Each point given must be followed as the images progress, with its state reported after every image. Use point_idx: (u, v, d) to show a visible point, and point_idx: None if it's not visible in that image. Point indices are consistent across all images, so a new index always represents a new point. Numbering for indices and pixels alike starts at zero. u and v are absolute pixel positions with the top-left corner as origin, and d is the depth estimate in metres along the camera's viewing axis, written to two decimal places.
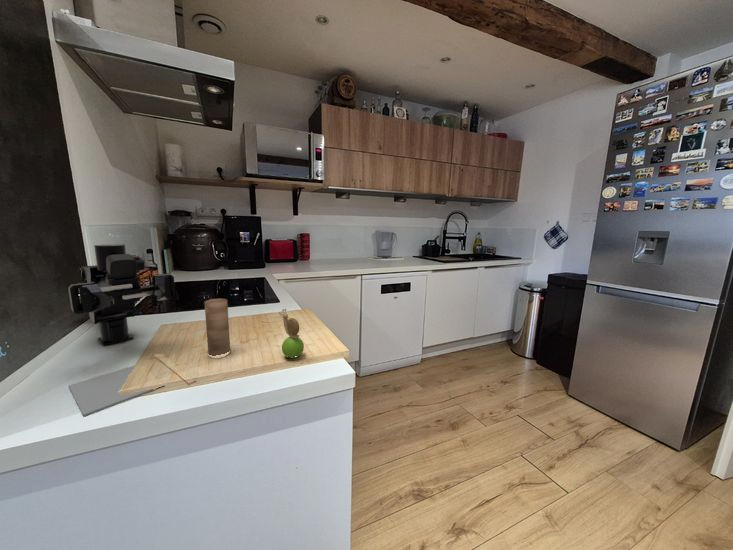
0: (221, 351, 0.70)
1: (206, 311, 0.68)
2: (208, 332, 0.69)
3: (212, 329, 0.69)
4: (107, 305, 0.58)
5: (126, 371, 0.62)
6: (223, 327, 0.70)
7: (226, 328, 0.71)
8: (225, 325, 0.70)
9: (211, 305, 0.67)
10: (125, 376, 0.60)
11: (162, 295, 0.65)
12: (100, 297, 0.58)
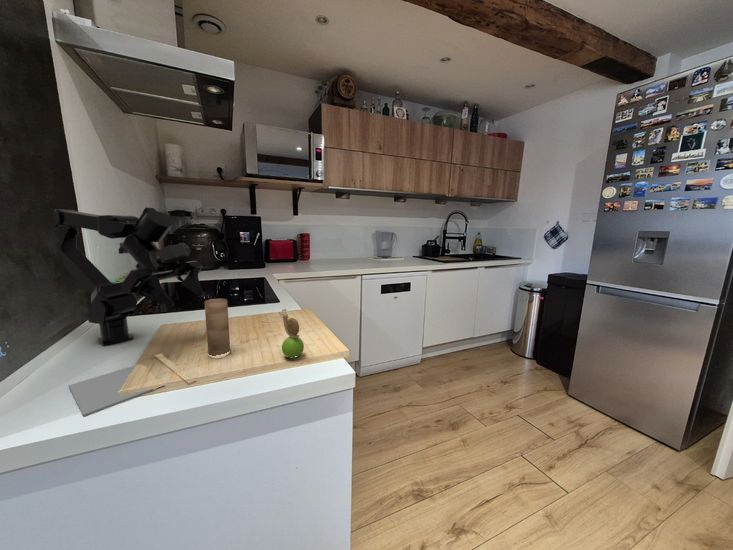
0: (221, 351, 0.70)
1: (206, 311, 0.68)
2: (208, 332, 0.69)
3: (212, 329, 0.69)
4: (165, 303, 0.67)
5: (126, 371, 0.62)
6: (223, 327, 0.70)
7: (226, 328, 0.71)
8: (225, 325, 0.70)
9: (211, 305, 0.67)
10: (125, 376, 0.60)
11: (199, 294, 0.76)
12: (161, 294, 0.66)
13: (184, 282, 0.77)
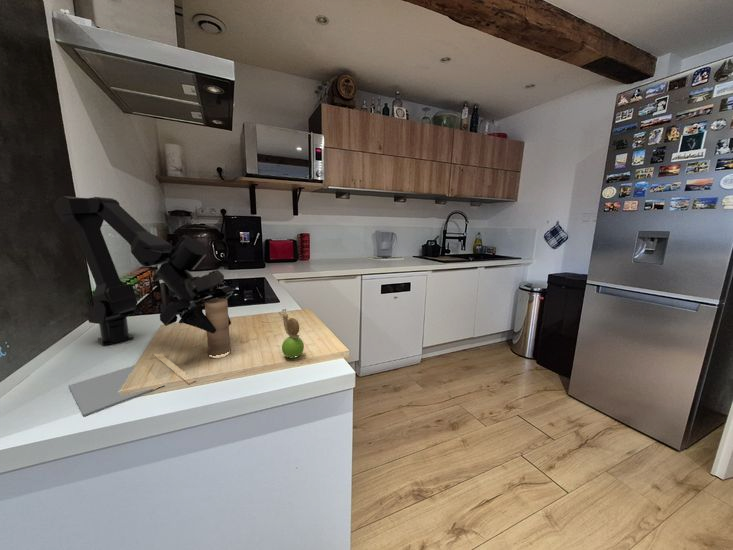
0: (221, 351, 0.70)
1: (206, 311, 0.68)
2: (208, 332, 0.69)
3: None
4: (208, 331, 0.68)
5: (126, 371, 0.62)
6: (223, 327, 0.70)
7: (226, 328, 0.71)
8: (225, 325, 0.70)
9: (211, 305, 0.67)
10: (125, 376, 0.60)
11: None
12: (205, 322, 0.67)
13: None
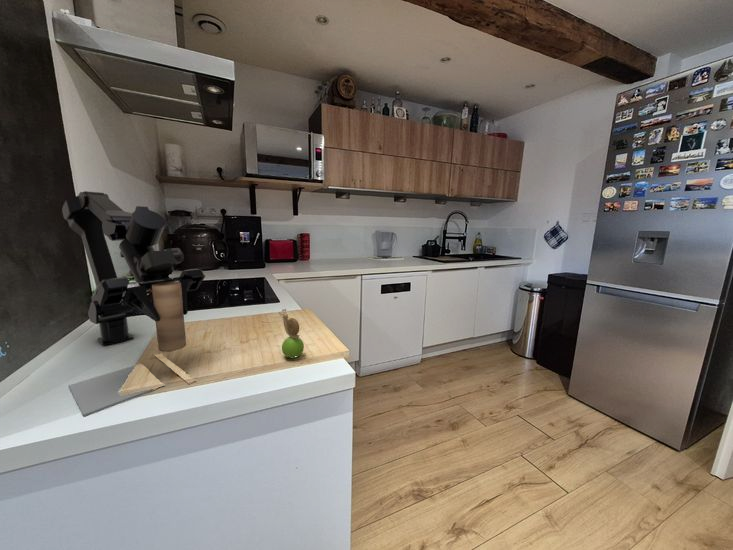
0: (168, 344, 0.59)
1: None
2: None
3: None
4: (152, 318, 0.57)
5: (126, 371, 0.62)
6: (170, 315, 0.58)
7: (175, 317, 0.59)
8: (173, 313, 0.59)
9: (155, 288, 0.57)
10: (125, 376, 0.60)
11: (183, 312, 0.62)
12: (147, 307, 0.57)
13: None
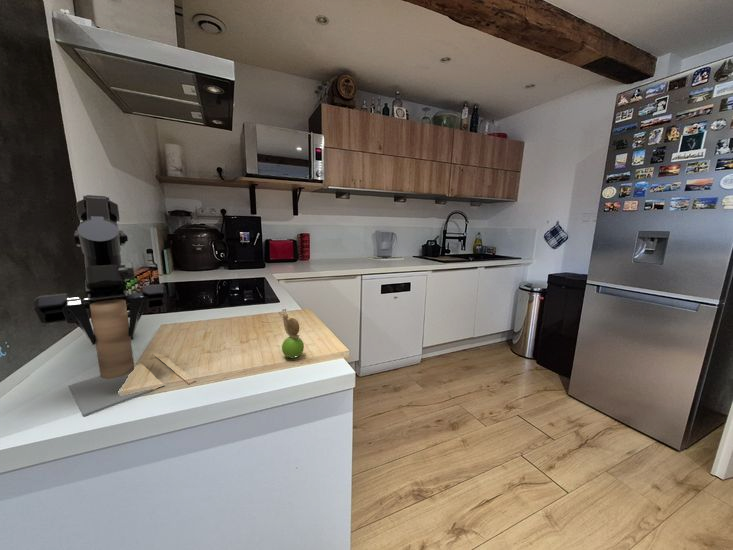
0: (106, 370, 0.53)
1: None
2: None
3: (95, 339, 0.52)
4: None
5: None
6: (106, 339, 0.52)
7: (112, 341, 0.52)
8: (110, 336, 0.52)
9: (90, 307, 0.51)
10: (125, 376, 0.60)
11: (130, 334, 0.55)
12: (83, 328, 0.51)
13: None
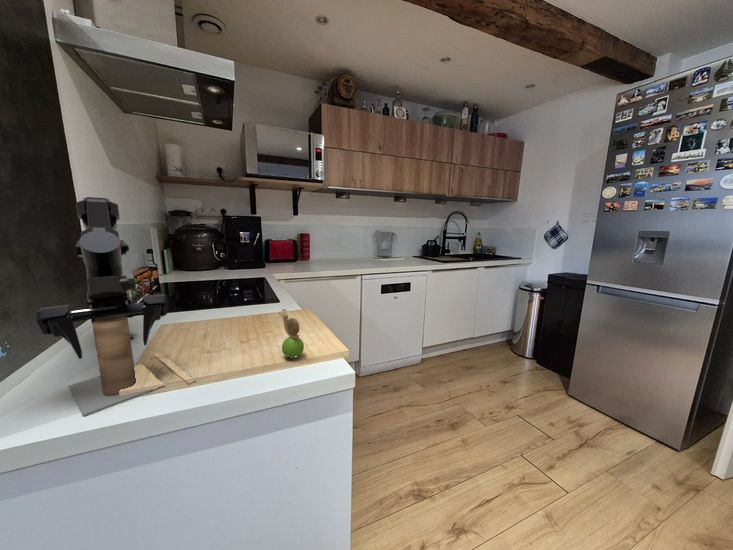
0: (108, 387, 0.53)
1: None
2: None
3: (97, 356, 0.53)
4: (76, 354, 0.51)
5: None
6: (109, 356, 0.52)
7: (115, 358, 0.53)
8: (112, 353, 0.53)
9: (93, 325, 0.52)
10: None
11: None
12: (70, 342, 0.50)
13: None
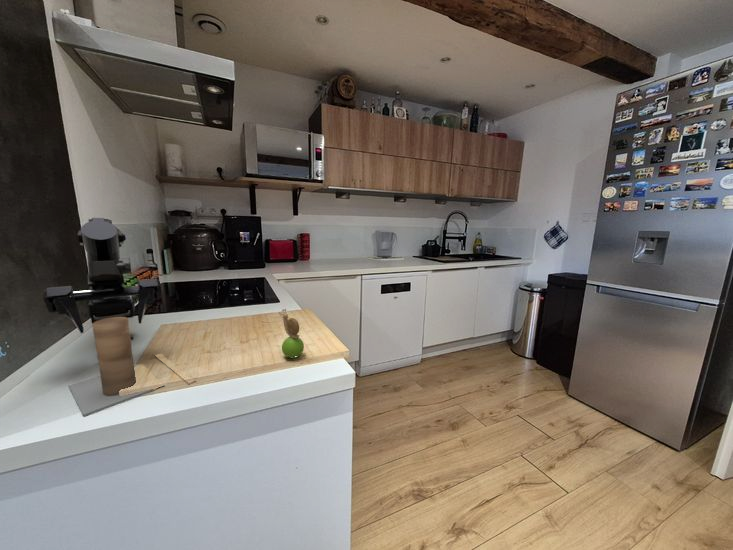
0: (108, 387, 0.53)
1: None
2: None
3: None
4: (78, 329, 0.57)
5: None
6: (109, 357, 0.52)
7: (115, 359, 0.53)
8: (113, 354, 0.52)
9: (93, 326, 0.51)
10: None
11: (138, 320, 0.63)
12: (72, 318, 0.57)
13: None
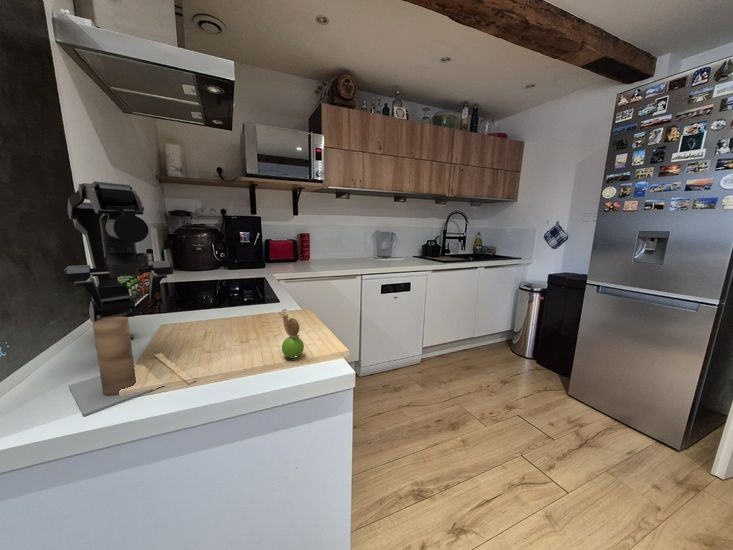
0: (108, 387, 0.53)
1: None
2: None
3: None
4: None
5: None
6: (109, 356, 0.52)
7: (115, 359, 0.53)
8: (112, 354, 0.53)
9: (93, 326, 0.52)
10: None
11: (150, 300, 0.70)
12: (92, 298, 0.62)
13: (150, 276, 0.71)
